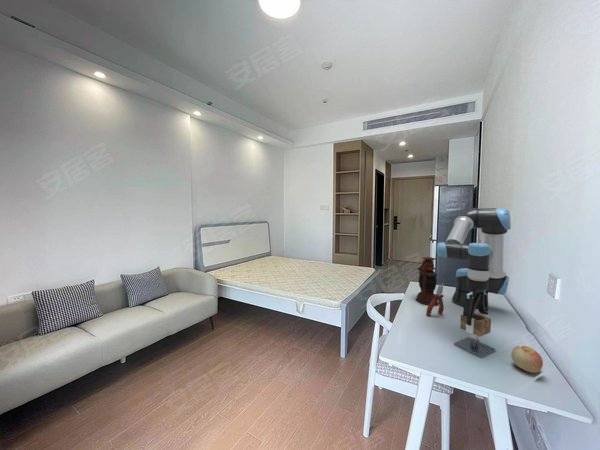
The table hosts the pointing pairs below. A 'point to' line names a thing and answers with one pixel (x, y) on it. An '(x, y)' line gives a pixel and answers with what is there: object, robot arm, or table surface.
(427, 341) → the table surface
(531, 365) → the apple
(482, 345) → the plate with upright peg
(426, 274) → the lantern
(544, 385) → the table surface
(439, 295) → the pliers
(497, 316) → the table surface
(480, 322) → the brown boxy piece
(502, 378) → the table surface
